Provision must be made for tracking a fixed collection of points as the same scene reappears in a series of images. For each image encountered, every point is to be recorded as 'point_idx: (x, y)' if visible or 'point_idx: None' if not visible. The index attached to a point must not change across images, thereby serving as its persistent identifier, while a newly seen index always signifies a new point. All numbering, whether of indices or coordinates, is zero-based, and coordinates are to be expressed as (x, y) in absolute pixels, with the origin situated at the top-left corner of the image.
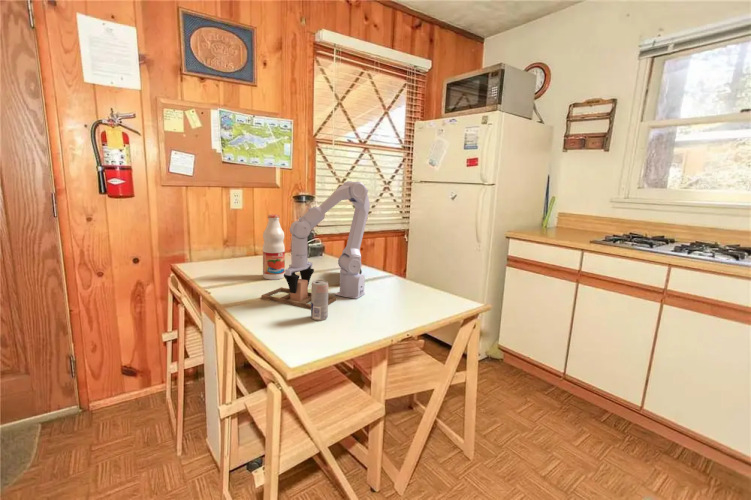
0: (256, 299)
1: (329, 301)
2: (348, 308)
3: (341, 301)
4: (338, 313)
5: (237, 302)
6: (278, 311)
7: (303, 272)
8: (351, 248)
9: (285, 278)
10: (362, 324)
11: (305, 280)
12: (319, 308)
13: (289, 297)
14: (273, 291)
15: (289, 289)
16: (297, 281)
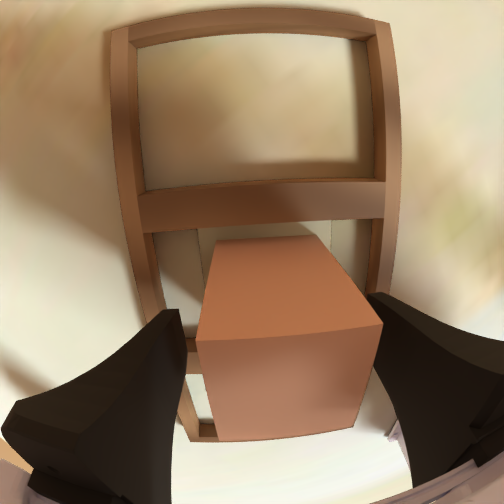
0: (90, 35)
1: (285, 437)
2: (279, 466)
3: (346, 428)
4: (214, 466)
5: (16, 27)
6: (43, 306)
7: (448, 414)
8: None
9: (47, 395)
10: (191, 497)
11: (335, 422)
12: None
13: (229, 223)
14: (254, 22)
15: (385, 107)
16: (165, 458)
